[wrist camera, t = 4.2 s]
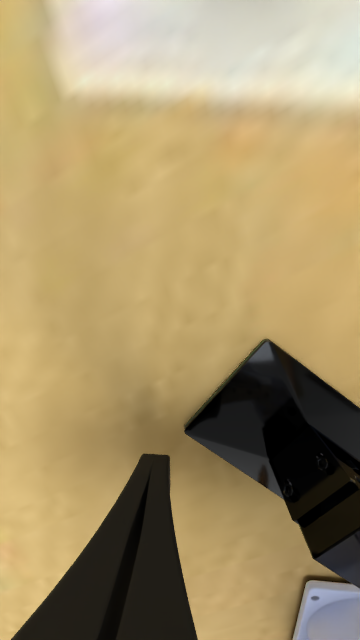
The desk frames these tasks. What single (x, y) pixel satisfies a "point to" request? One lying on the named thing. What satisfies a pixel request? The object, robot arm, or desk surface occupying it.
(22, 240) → the desk surface
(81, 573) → the robot arm
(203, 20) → the desk surface
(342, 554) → the build plate
